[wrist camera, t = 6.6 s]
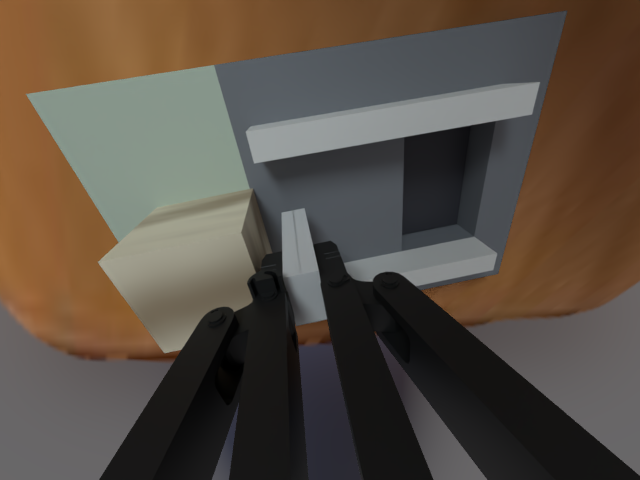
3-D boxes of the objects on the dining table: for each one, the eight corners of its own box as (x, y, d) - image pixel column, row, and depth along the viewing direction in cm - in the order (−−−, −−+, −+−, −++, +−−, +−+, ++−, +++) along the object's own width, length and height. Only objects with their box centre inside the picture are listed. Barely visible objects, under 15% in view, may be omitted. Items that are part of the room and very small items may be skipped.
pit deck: (63, 94, 15) (-28, 94, 10) (528, 22, 16) (620, -5, 12) (189, 318, 24) (169, 368, 19) (479, 258, 25) (521, 292, 21)
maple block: (156, 207, 16) (97, 262, 11) (252, 188, 16) (241, 232, 11) (195, 282, 19) (164, 353, 14) (276, 265, 19) (275, 328, 14)
